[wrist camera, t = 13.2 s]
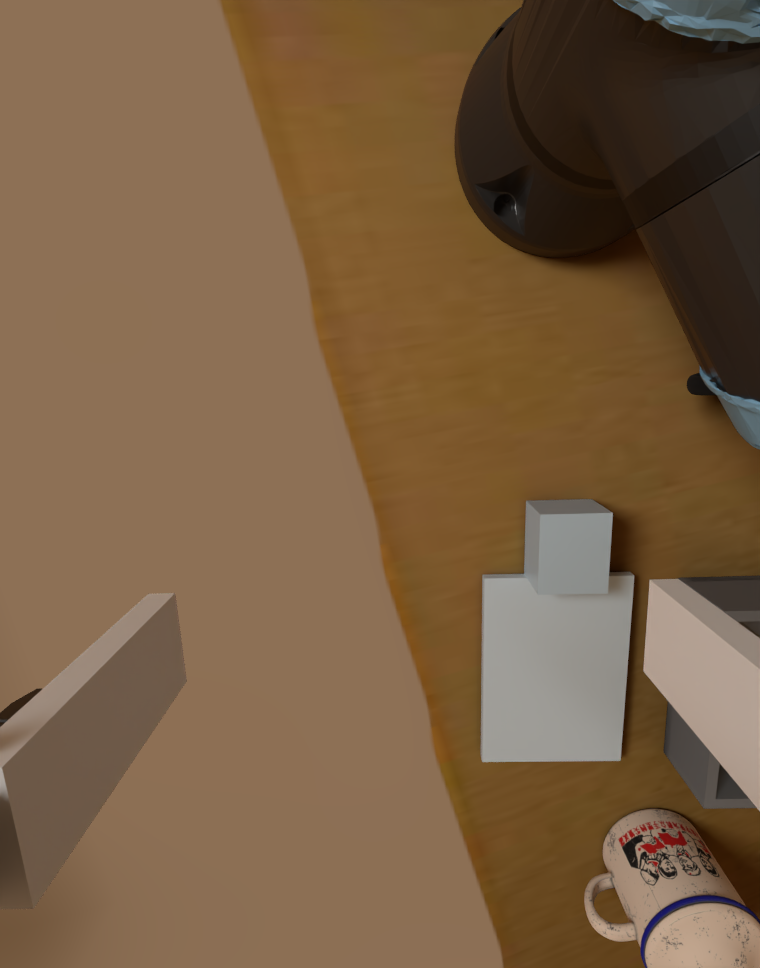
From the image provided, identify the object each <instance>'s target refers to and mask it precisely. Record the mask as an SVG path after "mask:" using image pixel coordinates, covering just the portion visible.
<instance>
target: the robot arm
mask: <svg viewBox="0 0 760 968" xmlns="http://www.w3.org/2000/svg"><path fill="white" fill-rule="evenodd" d="M455 158H456V165H457V171H458V175H459V179H460V182H461V185H462V188H463V191H464V193H465V196H466V198H467V200H468V202H469V204H470V205H471V207H472V209H473V210H474V212H475V213H476V215H477V216H478V218H479V219H480V220H481V221H482V223H483V224H484V225H485V226H486V227H487V228H488V229H489V230H490V231H491V232H492V233H493V234H495V235H496V236H497V237H498V238H500V239H501V240H502V241H504V242H506V243H507V244H509V245H511V246H513V247H514V248H516V249H519V250H521V251H524V252H527V253H530V254H533V255H538V256H543V257H553V258H564V257H573V256H579V255H583V254H587V253H590V252H593V251H596V250H599V249H601V248H603V247H605V246H607V245H609V244H611V243H613V242H615V241H616V240H618V239H620V238H621V237H623V236H625V235H626V234H628V233H630V232H631V231H632V230H634V229H635V228H637V229H636V231H637V233H638V235H639V237H640V239H641V241H642V244H643V246H644V248H645V250H646V252H647V254H648V256H649V258H650V261H651V263H652V265H653V267H654V269H655V271H656V273H657V275H658V278H659V280H660V282H661V284H662V286H663V288H664V290H665V292H666V294H667V297H668V299H669V301H670V303H671V305H672V307H673V309H674V311H675V314H676V316H677V318H678V320H679V322H680V324H681V326H682V328H683V331H684V333H685V335H686V337H687V339H688V341H689V343H690V345H691V348H692V350H693V352H694V354H695V356H696V358H697V360H698V362H699V364H700V375H701V378H702V380H703V381H704V383H705V385H706V386H707V387H708V388H709V389H710V390H711V391H712V392H713V393H715V394H716V395H717V396H718V398H719V400H720V402H721V404H722V405H723V407H724V409H725V411H726V413H727V414H728V416H729V418H730V420H731V422H732V423H733V425H734V427H735V428H736V430H737V432H738V433H739V434H740V435H741V436H742V437H743V438H744V439H745V440H746V441H747V442H748V443H749V444H750V445H752V446H753V447H755V448H757V449H760V0H524V1H523V4H522V7H521V8H519V9H518V10H517V11H516V12H514V13H513V14H512V15H511V16H510V17H509V18H508V19H507V20H506V21H505V22H504V23H503V24H502V25H501V26H500V27H499V28H498V29H497V30H496V31H495V33H494V34H493V35H492V36H491V37H490V39H489V40H488V42H487V43H486V44H485V46H484V47H483V49H482V51H481V52H480V54H479V56H478V58H477V59H476V61H475V63H474V65H473V67H472V69H471V72H470V74H469V76H468V79H467V82H466V85H465V88H464V91H463V95H462V99H461V103H460V107H459V111H458V116H457V121H456V128H455ZM641 225H642V226H641ZM638 227H639V228H638ZM643 671H644V672H645V674H646V675H647V676H648V677H649V678H650V680H651V681H652V682H653V683H654V685H655V686H656V687H657V688H658V689H659V691H660V692H661V693H662V694H663V695H664V697H665V698H666V699H667V700H668V701H669V703H670V704H671V705H672V706H673V707H674V709H675V710H676V711H677V712H678V713H679V715H680V716H681V717H682V718H683V719H684V721H685V722H686V723H687V724H688V725H689V727H690V728H691V729H692V730H693V731H694V733H695V734H696V735H697V736H698V737H699V739H700V740H701V741H702V742H703V743H704V745H705V746H706V747H707V748H708V750H709V751H710V752H711V753H712V754H713V756H714V757H715V758H716V759H717V760H718V762H719V763H720V764H721V765H722V766H723V768H724V769H725V770H726V771H727V772H728V774H729V775H730V776H731V777H732V778H733V780H734V781H735V782H736V783H737V784H738V786H739V787H740V788H741V789H742V790H743V792H744V793H745V794H746V795H747V796H748V798H749V799H750V800H751V801H752V802H753V804H754V805H755V806H756V807H757V808H758V810H759V811H760V638H759V637H757V636H756V635H755V634H753V633H752V632H750V631H749V630H748V629H746V628H745V627H744V626H742V625H741V624H739V623H738V622H737V621H735V620H734V619H733V618H731V617H730V616H729V615H727V614H726V613H724V612H723V611H722V610H720V609H719V608H718V607H716V606H715V605H713V604H712V603H711V602H709V601H708V600H707V599H705V598H704V597H702V596H701V595H700V594H698V593H697V592H696V591H694V590H693V589H692V588H690V587H689V586H687V585H686V584H685V583H683V582H682V581H681V580H679V579H659V580H650V584H649V598H648V613H647V627H646V641H645V656H644V670H643ZM186 681H187V680H186V672H185V664H184V658H183V650H182V642H181V634H180V626H179V619H178V611H177V604H176V596H175V593H161V594H148V595H147V596H145V597H144V598H143V599H142V600H141V601H140V602H139V603H138V604H137V605H136V606H134V607H133V608H132V609H131V610H130V611H129V612H128V613H127V614H125V615H124V616H123V617H122V618H121V619H120V620H119V621H118V622H117V623H115V624H114V625H113V626H112V627H111V628H110V629H109V630H108V631H107V632H105V633H104V634H103V635H102V636H101V637H100V638H99V639H98V640H97V641H95V642H94V643H93V644H92V645H91V646H90V647H89V648H88V649H87V650H85V651H84V652H83V653H82V654H81V655H80V656H79V657H78V658H77V659H75V660H74V661H73V662H72V663H71V664H70V665H69V666H68V667H67V668H66V669H64V670H63V671H62V672H61V673H60V674H59V675H58V676H57V677H55V678H54V679H53V680H52V681H51V682H50V683H49V684H48V685H47V686H45V687H44V688H43V689H36V690H34V691H32V692H30V693H29V694H27V695H25V696H23V697H22V698H20V699H18V700H16V701H15V702H13V703H11V704H10V705H9V706H8V707H7V708H5V709H4V710H3V711H2V712H1V713H0V909H34V907H35V906H36V904H37V903H38V902H39V900H40V899H41V897H42V896H43V894H44V892H45V891H46V890H47V888H48V887H49V885H50V884H51V882H52V881H53V879H54V878H55V876H56V875H57V873H58V872H59V870H60V869H61V867H62V865H63V864H64V863H65V861H66V860H67V858H68V857H69V855H70V854H71V852H72V851H73V850H74V848H75V846H76V845H77V844H78V842H79V841H80V839H81V838H82V836H83V834H84V833H85V832H86V830H87V829H88V827H89V826H90V824H91V823H92V821H93V820H94V818H95V817H96V815H97V814H98V812H99V811H100V809H101V808H102V806H103V805H104V803H105V802H106V800H107V799H108V797H109V796H110V795H111V793H112V792H113V790H114V789H115V787H116V786H117V784H118V783H119V781H120V780H121V778H122V777H123V775H124V774H125V772H126V771H127V769H128V768H129V766H130V765H131V763H132V762H133V760H134V759H135V757H136V756H137V754H138V753H139V751H140V750H141V748H142V747H143V745H144V744H145V742H146V741H147V739H148V738H149V736H150V735H151V733H152V732H153V731H154V729H155V728H156V726H157V725H158V723H159V722H160V720H161V719H162V717H163V716H164V714H165V713H166V711H167V710H168V708H169V707H170V705H171V704H172V702H173V701H174V699H175V698H176V696H177V695H178V693H179V692H180V690H181V689H182V688H183V686H184V684H185V683H186Z"/></svg>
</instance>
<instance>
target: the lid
mask: <svg viewBox="0 0 760 968" xmlns="http://www.w3.org/2000/svg"><path fill="white" fill-rule="evenodd" d="M612 521H613V513H612V512H611V511H609V510H608V509H606V508H605V507H603V506H602V505H600V504H598V503H597V502H595V501H594V500H592V499H577V500H536V501H526V527H525V563H524V574H491V575H483V579H482V678H481V759H482V762H539V761H621V749H622V735H623V722H624V709H625V695H626V682H627V668H628V655H629V642H630V628H631V615H632V602H633V588H634V575H633V574H632V573H631V572H609V568H610V552H611V536H612Z"/></svg>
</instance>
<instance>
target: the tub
mask: <svg viewBox="0 0 760 968" xmlns="http://www.w3.org/2000/svg"><path fill="white" fill-rule="evenodd" d="M678 579H679V580H681V581H682V582H683V583H685V584H686V585H687V586H689V587H690V588H692V589H693V590H694V591H696V592H697V593H698V594H700V595H701V596H702V597H704V598H705V599H707V600H708V601H709V602H711V603H712V604H713V605H715V606H716V607H718V608H719V609H720V610H722V611H723V612H724V613H726V614H727V615H729V616H730V617H731V618H733V619H734V620H735V621H737V622H741V623H743V624H744V625H745V626H747V627H748V628H749V629H751V630H752V631H754V632H755V633H756V634H758V635H759V636H760V576H732V577H694V578H678ZM664 753H665V754H666V756H667V757H668V759H669V760H670V761H671V763H672V764H673V766H674V767H675V769H676V770H677V771H678V773H679V774H680V776H681V777H682V778H683V780H684V781H685V783H686V784H687V785H688V787H689V788H690V790H691V791H692V793H693V794H694V795H695V797H696V798H697V800H698V801H699V802H700V804H701V805H702V807H703V808H757V807H756V806H755V805H754V804H753V802H752V801H751V800H750V799H749V798H748V796H747V795H746V794H745V793H744V792H743V790H742V789H741V788H740V787H739V786H738V784H737V783H736V782H735V781H734V780H733V778H732V777H731V776H730V775H729V774H728V772H727V771H726V770H725V769H724V768H723V766H722V765H721V764H720V763H719V762H718V760H717V759H716V758H715V757H714V756H713V754H712V753H711V752H710V751H709V750H708V748H707V747H706V746H705V745H704V743H703V742H702V741H701V740H700V739H699V737H698V736H697V735H696V734H695V733H694V731H693V730H692V729H691V728H690V727H689V725H688V724H687V723H686V722H685V721H684V719H683V718H682V717H681V716H680V715H679V713H678V712H677V711H676V710H675V709H674V707H673V706H672V705H671V704H670V703H669V701H668V707H667V719H666V731H665V743H664Z"/></svg>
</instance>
